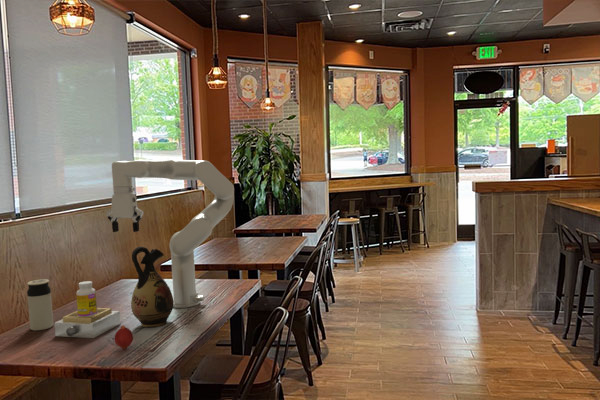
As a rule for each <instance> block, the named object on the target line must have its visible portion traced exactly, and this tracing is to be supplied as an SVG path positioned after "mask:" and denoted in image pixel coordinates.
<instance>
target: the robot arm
mask: <svg viewBox="0 0 600 400" xmlns="http://www.w3.org/2000/svg"><path fill="white" fill-rule="evenodd" d="M111 175H112V188H113V189H112V190H113V194H112V196H111V208H110V209H109V210H107V211H106V212H105V215H106V217H107V219H108V220H109V221H110V223H111V227H112V232H113V233H116V232H119V229H120V228H119V227H120V226H119V222H118V220H119V219H130V218H131V220H132V221H133V222H132V231H133V233H136V232H139V231H140V230H139V229H140V221H141V220H142V218H143V215H144V213H145V211H143V210H142V209H140V208H138V202H137V196H136V194H135V193H134V191H135V190H136V189H135V187H133V179H132V178H135V179H136V178H137V179H143V178H144V179H145V178H149V179H150V178H151V179H166V180H167V179H168V180H174V181H199V182H201V184H202V185H204V186H205V187H206V188H207V189H208V190H209V191H210V192H211V193H212V194H213V195H214V197H213V200H212V201H211V202H210V203H209V204H208V205H207V206H206V207H205V208H204V209H203V210H201V212H199V213H198V214H197V215H195V216H194V217H192V219H191V220H190V222H189V223H187V225H186V226H185V227H183V229H181V230H180V231H177V232H175V233H174V234H173V235H171V238H170V239H169V247H168V248H169V251H170V258H171V259H170V261H171V277H172V278H171V280H172V290H173V293H172V295H173V301H174V305H173V309H174V308H176V309H186V308H191V307H195V306H198V305H200V303H201V302H204V301H205V296H204V295H199V292H198V291H197V290H196V289H197V288H196V287H197V285H196V270H195V266H196V265H195V252H194V251H195V249H197V248H198V247H199V246H200V245H201V244H203V242H205V241H206V240H207V239H208V238H209V237H210V236H211V234H212V232H213V229H214V228H215V226H216V225H218V224H219V223H220V222H221V221H222V220H223V219H224V218H225V217H226V216H227V215H228V214H229V212H230V211H231V210H232V207H233V204H234V199H235V197H234V196H235V195H234V194H235V187H234V185H233V183H232V182H231V181H230V180H229V179H228V178H227V177H226V176H225V175H224V174H223V173H221V171H219V169H217V167H216V166H215V165H214V164H212V163H211V161H209V160H197V159H196V160H195V159H193V160H192V159H170V160H169V159H168V160H148V159H147V160H145V159H135V160H129V161H127V160H121V161H120V160H119V161H114V162H112V163H111Z"/></svg>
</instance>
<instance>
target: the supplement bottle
mask: <svg viewBox="0 0 600 400" xmlns="http://www.w3.org/2000/svg"><path fill="white" fill-rule="evenodd" d="M78 287H79V289H78V290H77V291H76V292H75V293H76V305H77V306H76V307H77V311H78V317H92V316H94V315H96V314H97V308H98V306H97V305H98V303H97V293H96V289H95V288H93V281H91V280H87V281H81V282H79V283H78Z"/></svg>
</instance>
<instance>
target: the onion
mask: <svg viewBox="0 0 600 400" xmlns="http://www.w3.org/2000/svg"><path fill="white" fill-rule="evenodd" d="M133 340H134V334H133V332H132V331H131V329H129V327H126V326H125V325H124V324H123V325H121V326H120V328H119V329H118V330H117V331H116V332H115V334H114V343H115V345H116V346H118V347H119V348H121V349H122V350H126V349H127V348H128V347H129V346H131V345H132V343H133Z"/></svg>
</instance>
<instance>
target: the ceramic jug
mask: <svg viewBox="0 0 600 400" xmlns="http://www.w3.org/2000/svg"><path fill="white" fill-rule="evenodd" d="M140 253H144V256H143V257H142V259H141V261H140V262H139V260H138V255H139V254H140ZM164 255H165V254H164V253H163V252H162V251H161V250H159V249H157V248H155V249H153V248H152V249H151V250H149V249H148V248H147V247H145V246H138V247H136V248H135V249H133V251H132V252H131V261H132V263H133V265H134V268H135V271H136V272H137V274H138V275H137V276H138V279H137V283H136V285H135V287H134V289H133V293H132V295H131V303H130V307H131V312H132V315H133V316H134V317H135V318H136V319H137V321H139V322H140V324H141V327H142V328H143V327H144V328H145V327H146V328H147V327H150V328H152V327H153V328H154V327H155V328H156V327H160V326H161V327H162V326H165V325H167V324H168V319H169V317H170V316H171V314H172V312H173V309H174V307H173V305H174V295H173V293H172V290H171V289H170V287H169V285H168V283H167V282H166V281H165V279H164V278H163V277H162V276H161V275H160V273H159V272H158V271H157V269H156V268H155V265H154V263H156V261H157V260H159V259H161V258H162V257H164ZM140 264H141V265H144V269H142V268H141V265H140Z"/></svg>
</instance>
